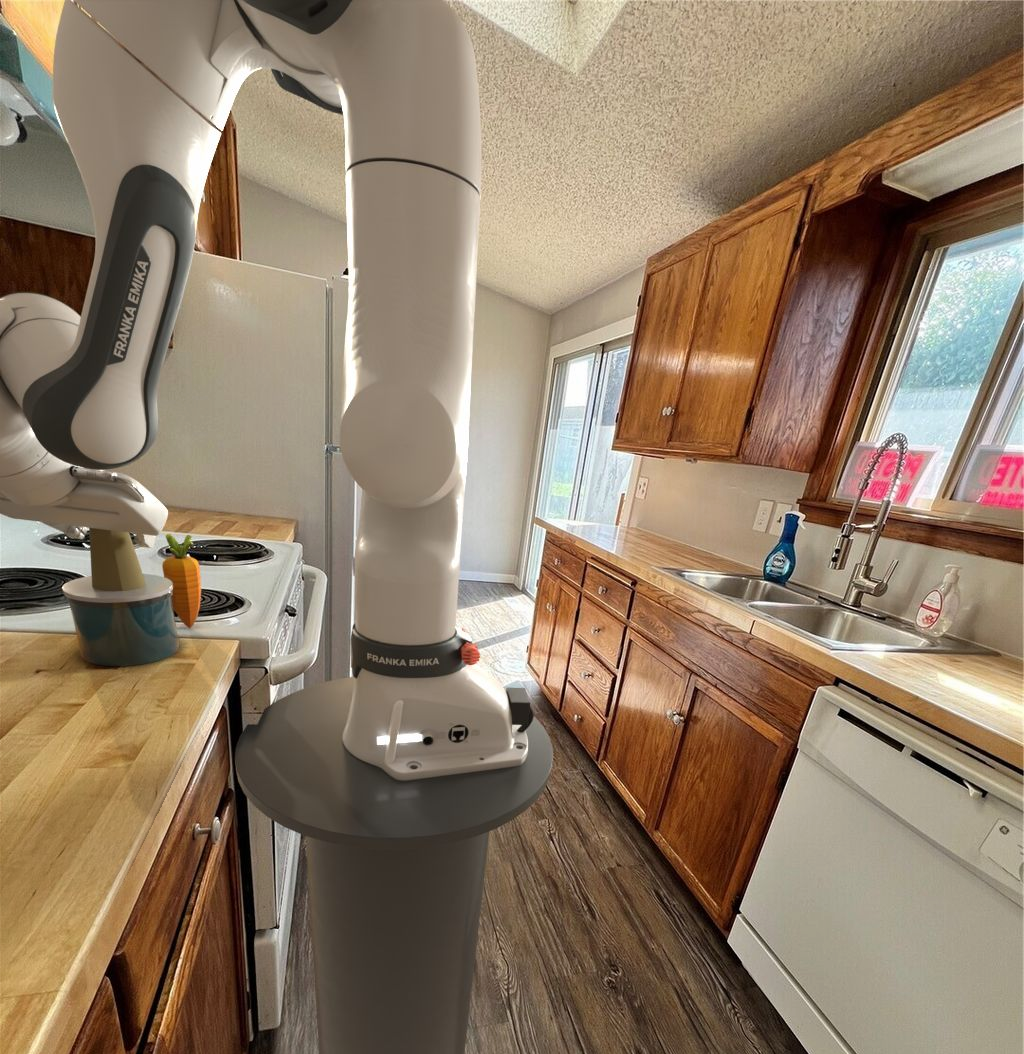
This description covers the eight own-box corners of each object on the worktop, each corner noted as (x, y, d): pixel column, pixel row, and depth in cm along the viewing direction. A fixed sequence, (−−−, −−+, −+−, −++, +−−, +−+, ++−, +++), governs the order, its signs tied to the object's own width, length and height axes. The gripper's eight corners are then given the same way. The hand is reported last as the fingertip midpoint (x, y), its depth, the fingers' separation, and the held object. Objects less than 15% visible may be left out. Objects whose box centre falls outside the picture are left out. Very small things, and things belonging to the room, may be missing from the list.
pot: (194, 636, 86) (185, 575, 82) (163, 668, 75) (152, 600, 71) (103, 633, 83) (90, 570, 79) (58, 666, 72) (40, 595, 68)
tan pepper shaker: (99, 578, 76) (82, 495, 72) (150, 579, 79) (136, 498, 74) (86, 591, 71) (66, 502, 67) (140, 591, 74) (125, 505, 69)
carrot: (203, 620, 92) (191, 529, 86) (210, 630, 89) (198, 535, 83) (168, 624, 89) (153, 530, 83) (175, 634, 86) (160, 536, 79)
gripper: (135, 452, 61) (199, 528, 74) (-44, 430, 62) (51, 510, 74) (113, 498, 59) (183, 568, 72) (-72, 475, 59) (30, 549, 72)
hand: (114, 539), depth 73 cm, fingers open, 8 cm apart
